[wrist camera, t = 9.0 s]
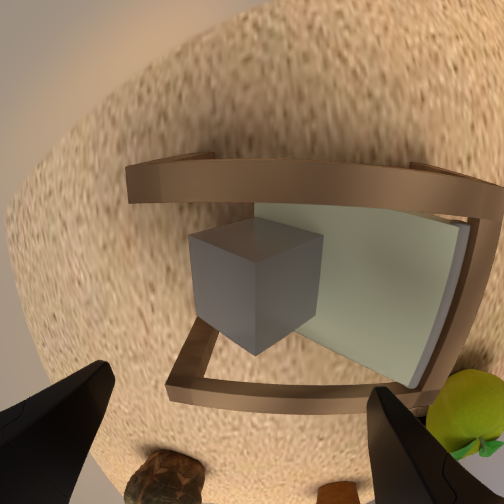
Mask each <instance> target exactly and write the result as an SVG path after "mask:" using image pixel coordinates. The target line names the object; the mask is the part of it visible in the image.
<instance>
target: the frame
mask: <svg viewBox="0 0 504 504" xmlns="http://www.w3.org/2000/svg"><path fill="white" fill-rule="evenodd" d="M125 169H126V182H127V193H128V203H129V204H134V203H176V202H244V203H286V204H312V205H333V206H350V207H366V208H380V209H393V210H405V211H416V212H426V213H436V214H445V215H454V216H463V217H468V220H467V223H468V224H470V225H471V227H470V232H469V237H468V242H467V247H466V251H465V255H464V259H463V263H462V267H461V271H460V275H459V279H458V282H457V286H456V289H455V292H454V296H453V299H452V302H451V305H450V308H449V311H448V314H447V317H446V320H445V322H444V325H443V328H442V330H441V333H440V336H439V338H438V341H437V343H436V346H435V348H434V351H433V353H432V355H431V358H430V360H429V362H428V364H427V367H426V369H425V371H424V373H423V375H422V377H421V379H420V381H419V384H418V386H417V387H416V388H413V389H410V388H407V387H405V386H404V385H403V384H401V383H399V382H392V383H379V384H362V385H280V384H262V383H248V382H237V381H227V380H218V379H209V378H203V377H204V374H205V371H206V369H207V366H208V363H209V360H210V357H211V354H212V351H213V348H214V346H215V343H216V340H217V337H218V334H219V331H218V330H216V329H215V328H214V327H212V326H211V325H209V324H208V323H207V322H205V321H204V320H203V319H201V318H200V317H198V316H197V318H196V320H195V322H194V324H193V326H192V328H191V331H190V333H189V335H188V337H187V339H186V341H185V343H184V345H183V347H182V349H181V351H180V353H179V356H178V358H177V360H176V362H175V364H174V366H173V368H172V370H171V372H170V375H169V377H168V379H167V381H166V383H165V387H166V390H167V393H168V397H169V400H170V401H173V402H179V403H184V404H190V405H196V406H203V407H210V408H217V409H226V410H234V411H245V412H256V413H271V414H296V415H331V414H356V413H367V409H366V407H367V401H368V399H369V396H370V394H371V391H372V389H373V388H374V387H375V386H387V387H388V388H389V389H390V390H391V391H392V393H393V394H394V395H395V396H396V397H397V398H398V399H399V400H400V401H401V402H402V403H403V404H404V405H405V406H406V407H407V408H415V407H421V406H427V405H433V403H434V401H435V400H436V398H437V396H438V395H439V393H440V391H441V389H442V387H443V386H444V384H445V382H446V380H447V378H448V376H449V374H450V373H451V371H452V369H453V367H454V365H455V363H456V361H457V358H458V356H459V354H460V352H461V350H462V348H463V346H464V343H465V341H466V339H467V336H468V334H469V332H470V329H471V327H472V324H473V322H474V319H475V317H476V314H477V311H478V309H479V306H480V303H481V300H482V297H483V294H484V291H485V288H486V285H487V282H488V278H489V275H490V272H491V268H492V264H493V261H494V257H495V253H496V249H497V245H498V240H499V236H500V231H501V226H502V220H503V215H504V187H501V186H498V185H495V184H493V183H490V182H486V181H483V180H480V179H477V178H474V177H471V176H467V175H464V174H461V173H457V172H454V171H450V170H446V169H443V168H439V167H435V166H431V165H426V164H419V163H412V162H411V165H410V169H406V168H398V167H390V166H381V165H371V164H360V163H349V162H335V161H319V160H297V159H214V152H205V153H190V154H184V155H178V156H173V157H168V158H163V159H158V160H153V161H148V162H144V163H139V164H135V165H130V166H126V167H125Z"/></svg>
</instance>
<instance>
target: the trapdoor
mask: <svg viewBox="0 0 504 504" xmlns="http://www.w3.org/2000/svg"><path fill="white" fill-rule="evenodd" d="M254 217H259V218H263V219H266V220H270V221H274V222H278V223H281V224H285V225H289V226H293V227H296V228H300V229H304V230H307V231H311V232H314V233H318V234H321V235H324V239H323V251H322V262H321V272H320V282H319V291H318V300H317V308H316V316H314V317H313V318H311V319H310V320H309V321H307V322H306V323H304V324H303V325H301V326H300V327H299V328H297V329H296V330H294V331H295V332H297V333H299V334H301V335H303V336H304V337H306V338H308V339H310V340H312V341H314V342H316V343H318V344H320V345H322V346H324V347H326V348H328V349H330V350H332V351H334V352H336V353H338V354H340V355H342V356H344V357H346V358H348V359H350V360H352V361H354V362H356V363H358V364H360V365H362V366H365V367H367V368H369V369H371V370H373V371H375V372H377V373H379V374H381V375H384V376H386V377H388V378H390V379H392V380H394V381H397V382H399V383H401V384H403V385H404V386H405V387H407V388H410V389H413V388H416V387H417V386H418V384H419V381H420V379H421V377H422V375H423V373H424V371H425V369H426V367H427V364H428V362H429V360H430V358H431V355H432V353H433V351H434V348H435V346H436V343H437V341H438V338H439V336H440V333H441V330H442V328H443V325H444V322H445V320H446V317H447V314H448V311H449V308H450V305H451V302H452V299H453V296H454V292H455V289H456V286H457V282H458V279H459V275H460V271H461V267H462V263H463V259H464V255H465V251H466V247H467V242H468V237H469V232H470V227H471V225H470V224H468V223H466V222H463V221H460V220H448V219H444V218H441V217H437V216H433V215H429V214H425V213H421V212H416V211H405V210H393V209H380V208H366V207H350V206H333V205H312V204H286V203H254Z"/></svg>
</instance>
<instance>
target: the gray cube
mask: <svg viewBox="0 0 504 504" xmlns="http://www.w3.org/2000/svg"><path fill="white" fill-rule="evenodd" d="M188 237H189V249H190V260H191V270H192V280H193V290H194V298H195V307H196V315H197V316H198V317H200V318H201V319H203V320H204V321H205V322H207V323H208V324H209V325H211V326H212V327H214V328H215V329H216V330H218V331H219V332H221V333H222V334H223V335H225V336H226V337H228V338H229V339H231V340H232V341H233V342H235V343H236V344H238V345H239V346H241V347H242V348H244V349H245V350H247V351H248V352H250V353H251V354H253V355H254V356H257V355H258V354H260V353H261V352H263V351H265V350H266V349H268V348H269V347H271V346H272V345H274V344H275V343H277V342H278V341H280V340H281V339H283V338H284V337H286V336H287V335H288V334H290V333H291V332H293V331H294V330H296V329H297V328H299V327H300V326H301V325H303V324H304V323H306V322H307V321H309V320H310V319H311V318H313V317H314V316H316V308H317V300H318V291H319V282H320V272H321V262H322V251H323V239H324V235H321V234H318V233H314V232H311V231H307V230H304V229H300V228H296V227H293V226H289V225H285V224H281V223H278V222H274V221H270V220H266V219H263V218H259V217H254V218H250V219H246V220H242V221H238V222H235V223H231V224H227V225H223V226H219V227H216V228H212V229H208V230H205V231H201V232H197V233H194V234H190V235H188Z"/></svg>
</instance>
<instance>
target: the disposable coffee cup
mask: <svg viewBox="0 0 504 504" xmlns="http://www.w3.org/2000/svg"><path fill="white" fill-rule="evenodd" d="M316 504H360V501H359V497H358V493H357V488H356V484H355V483H352V482H337V483H331V484H327V485H325V486H322V487H320V488H319V489H318V496H317V502H316Z"/></svg>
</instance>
